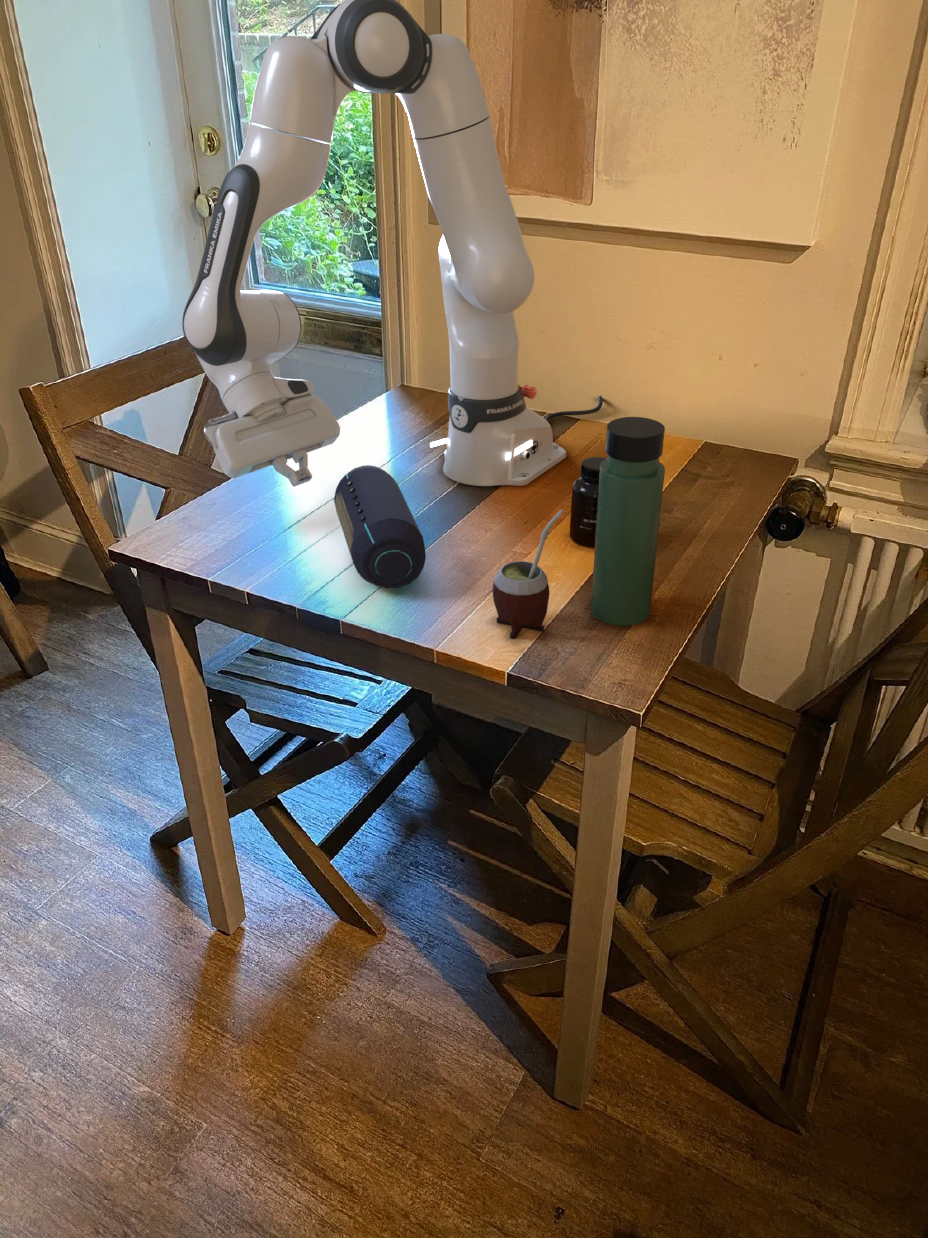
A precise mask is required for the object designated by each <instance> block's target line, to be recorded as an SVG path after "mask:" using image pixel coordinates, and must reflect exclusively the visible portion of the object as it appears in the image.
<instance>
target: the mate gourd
mask: <svg viewBox="0 0 928 1238" xmlns="http://www.w3.org/2000/svg"><path fill="white" fill-rule="evenodd" d="M564 512H565V511H564V509H563V508H562V509H560V510H559V511H558V512H556V514H555V515H554V516H553V517H552V518H551V519H550V521H549V522H548V523H547V524H546V526H545V527H544V529H543V530H542V532H541V534H540V540H539V544H538V547H537V550H536V552H535V556H534V560H533V562H532V561H525V560H519V561H512V562H508V563H506V564H505V565H502V567H500V568H499V570H498V572H496V574H495V576H494V578H493V583H492V588H491V589H492V590H491V591H492V600H493V603H494V607H495V610H496V613H497V617H496V619H495V620H496V624H500V625H505V626H510V627H511V632H510V633H509V638H510V639H513V640H515V639H517V638H518V637H519V634H520V633H521V631H522V630H523V629H526V630H529V631H530V630H531V631H536V632H544V630H545V624H544V621H545V618H546V616H547V613H548V607H549V601H550V600H549V599H550V586H549V581H548V575H547V574H546V573H545V571H544V570H543V569H542V568H541V567H540V566H539V561H540V558H541V555H542V551H543V549H544V546H545V542H546V540H547V539H548V537H549V534H550V530H551V529H552V527H553V526H554V524H555V523H556V522H557V520H558V519H559V518H560V517H561V515H562V514H563V513H564Z"/></svg>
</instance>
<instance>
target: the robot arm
mask: <svg viewBox="0 0 928 1238" xmlns="http://www.w3.org/2000/svg"><path fill="white" fill-rule="evenodd" d="M260 65H261V66H260V69H259V72H258V76H257V78H256V79H257V80H256V83H255V88H254V92H253V98H252V102H251V109H250V115H249V122H248V128H247V133H246V137H245V141H244V144H243V148H242V149H241V152H240V155H239V157H238V159H237V161H236V163H235V165H234V166H233V168H231V169H230V170H229V171H228V173H227V174H226V175H225V176H224V179H223V181H222V183H221V186H220V189H219V192H218V195H217V198H216V202H215V205H214V209H213V212H212V217H211V221H210V225H209V228H208V233H207V236H206V240H205V245H204V249H203V253H202V257H201V262H200V266H199V270H198V274H197V277H196V280H195V283H194V286H193V288H192V291H191V292H190V295H189V297H188V299H187V302H186V304H185V308H184V310H183V314H182V323H181V325H182V332H183V336H184V339H185V341H186V343H187V345H188V346H189V348H190V349H191V350H192V352H193V353H194V354H195V356H196V358H197V360H198V362H199V363H200V364H199V365H200V366H201V368H202V369H203V371H204V372H205V374H206V377H207V378H208V379H209V380H210V382H212V384H214V385H215V386H216V388H217V390H218V393H219V396H220V399H221V401H222V404H223V406H224V407H225V408H226V410H227V412H228V413H227V414H223V415H221V416H218V417H213V418H210V419H208V420H207V423H205V425H204V427H203V435H204V437H205V438H206V440H207V442H208V443H209V445H211V447H212V448H213V451H214V453H215V456H216V458H217V461H218V463H219V465H220V467H221V469H222V471H223V473H224V475H226V476H227V477H229V478H231V479H237V478H239V477H242V476H245V475H248V474H251V473H254V472H256V471H257V472H258V471H259V470H262V469H264V468H267V467H271V466H272V467H273V468H274V470H275V472H277V473H278V474H280V475H282V476H283V477H284V478H286V479H288V481H289V482H290V484H291V486H292V487H297V486H300V485H302V484H305V483H308V482H310V481H311V480H312V479H313V475H312V473H311V471H310V469H309V468H308V467H309V459H308V458H309V455H308V453H310V452H313V451H316V450H319V449H322V448H324V447H328V446H330V445H332V444H334V443H335V442H336V440H337V439H339V436H340V433H341V426H340V423H339V422H338V420H337V418H336V417H335V416H334V413H333V412H332V411H331V409H330V408H329V406H328V405H327V404H326V402H325V401H324V400H323V399H322V398H321V397H320V396H318V395H315V394H313V393H314V391H315V390H314V389H315V388H314V385H313V384H312V383H311V381H309V380H307V379H294V378H293V379H292V378H282V377H276V376H275V375H274V373H273V371H272V369H271V366H272V365H273V364H274V363H276V362H278V361H280V360H281V359H283V358H285V357H286V356H287V355H288V354H291V352H293V350H295V348H297V345H298V344H299V342H300V340H301V336H302V330H303V326H302V325H303V323H302V317H301V313H300V312H299V309H298V307H297V305H296V303H295V302H294V301H293V299H292V298H291V297H290V296H289V295H288V294H286V293H285V292H283V291H279V290H272V289H271V290H270V289H251V290H242V287H243V283H244V279H245V277H246V271H247V267H248V264H249V259H250V258H251V257H250V256H251V252H252V248H253V244H254V242H255V239H256V236H257V234H258V232H260V230H261V228H262V227H263V226H264V225H265V224H266V223H267V222H268V221H269V220H271V219H272V218H273V217H275V216H277V215H278V214H280V213H282V212H284V211H286V210H288V209H291V208H293V207H296V206H298V205H300V204H302V203H304V202H305V201H307V200H309V199H310V198H312V197H313V196H314V195H315V194H316V193H317V192H318V190H319V189H320V188H321V186H322V184H323V182H324V179H325V176H326V173H327V170H328V166H329V160H330V155H331V150H332V149H331V148H332V142H333V134H334V129H335V121H336V117H337V115H338V112H339V109H340V106H341V104H342V102H343V100H344V99H345V98H346V97H347V96H348V95H349V94H351V93H352V92H359V93H364V94H382V95H383V94H387V95H388V94H395V95H396V96H397V97H398V98H399V100H400V101H401V103H402V105H403V107H404V110H405V112H406V113H407V117H408V121H409V126H410V130H411V135H412V138H413V143H414V147H415V149H416V154H417V157H418V162H419V165H420V169H421V173H422V176H423V181H424V185H425V189H426V192H427V197H428V199H429V201H430V203H431V206H432V209H433V211H434V214H435V216H436V220H437V222H438V225H439V227H440V230H441V233H442V236H441V238H440V240H439V243H438V244H439V245H438V261H439V268H440V276H441V277H440V278H441V288H442V297H443V298H442V299H443V306H444V313H445V318H446V326H447V332H448V346H449V374H450V375H449V376H450V377H449V378H450V386H449V388H448V390H447V391H448V392H447V407H448V408H447V409H448V413H449V418H448V429H447V437H446V438H445V437H444V438H441V439H439V440H435V441H431V442H430V443H429V447H430V448H434V447H438V446H441V445H444V444H445V445H446V449H445V450H444V453H443V455H444V456H443V457H444V462H443V467H442V473H443V474H444V475H445V477H447V478H448V479H450V480H451V481H454V482H457V483H460V484H463V485H469V486H475V487H476V486H478V487H494V486H516V487H523V486H527V485H528V484H530V483H531V482H533V481H534V480H536V479H537V478H538V477H540V476H541V475H543V474H544V473H545V472H547V471H549V470H550V469H551V468H554V467H555V466H556V465H557V464H559V463H560V462H562V461H563V460H565V459H566V458H567V451H566V450H565V448H563V447H562V446H561V445H559V444H558V443H555V442H554V437H553V429H552V426H551V424H550V423H549V421H550V420H551V419H553V418H557V417H564V416H565V417H567V416H583V415H586V416H587V415H592V414H595V413H597V412H599V411H600V410H601V409H602V407H603V396H602V395H601V396H602V397H601V396H599V397H598V396H597V406H596V407H594V408H590V409H585V410H584V409H583V410H565V411H564V410H563V411H556V412H553V413H550V414H548V415H546V416H545V418H544V417H543V416H541V415H540V414H538V413H537V412H535V411H534V410H533V409H531V408H530V407H529V406H527V403H526V401H525V398H527V399H529V400H534V399H535V398H536V395H538V393H537V392H538V391H537V390H538V389H537V388H536V387H535V386H531V385H529V384H525V385H523V386H520V384H519V381H520V379H519V377H520V376H519V375H520V339H519V334H518V330H517V327H516V320H515V314H514V311H516V310H517V309H519V308H520V307H521V306H522V305H524V304H525V303H526V301H527V300H528V299H529V297H530V295H531V293H532V291H533V288H534V284H535V270H534V266H533V263H532V260H531V258H530V256H529V253H528V250H527V247H526V243H525V240H524V237H523V233H522V230H521V226H520V223H519V219H518V217H517V214H516V211H515V207H514V205H513V203H512V200H511V197H510V194H509V192H508V189H507V185H506V182H505V178H504V176H503V172H502V168H501V163H500V158H499V153H498V149H497V145H496V144H497V143H496V140H495V135H494V131H493V127H492V122H491V121H492V120H491V118H490V112H489V108H488V103H487V100H486V96H485V93H484V89H483V85H482V83H481V79H480V77H479V74H478V71H477V68H476V65H475V62H474V60H473V58H472V55H471V53H470V50H469V48H468V46H467V45H466V44H465V42H464V41H463V40H462V39H461V38H459V37H457V36H455V35H451V34H448V33H436V34H435V33H434V34H430V35H429V34H427V33H426V32H425V30H424V29H423V28H422V27H421V25H420V24H418V22H417V21H416V20H415V18H414V17H413V16H412V15H411V13H410V12H409V11H408V10H407V9H406V7H404V6H403V5H402V4H401V3H399V1H397V0H343V1H342V2H341V3H339V4H337V5H336V6H335V7H334V8H333V9H331V11H330V12H329V13H328V14H327V16H326V18H324V20H323V21H322V23H321V24H320V25H319V27H318V29H317V30H316V31H315V32H314V33H313V35H312V36H311V37H310V38H307V37H303V36H297V35H291V36H282V37H280V38H277V39H275V40H274V41H272V42H271V43H270V44H269V45H268V46H267V48H266V51H265V52H264V56H263V60H262V63H261V64H260ZM290 459H292V460H293V461H294V463H295V464H298V469H297V470H295V469H293V468H292V467H291V466H289V465H288V464H287V463H288V460H290Z"/></svg>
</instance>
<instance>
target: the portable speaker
mask: <svg viewBox="0 0 928 1238" xmlns="http://www.w3.org/2000/svg"><path fill="white" fill-rule="evenodd" d="M333 502H334V507H335V511H336V516H337V517H338V521H339V524H340V527H341V530H342V533H343V537H344V540H345V542H346V545H347V549H348V551H349V556H350V557H351V558H350V559H351V561H352V564H353V566H354V568H355V570H356V572H357V574H358V575H359V576H360V577H361V578H362V579H363V580H364V581H366V582H367V583H369V584H372V585H374V586H376V587H379V588H383V589H400V588H403V587H406V586H408V585H410V584H412V583H413V582H415V581H416V580H417V579H418V578H419V577H420V575H421V574H422V571H423V569H424V568H425V564H426V557H427V554H426V546H425V545H426V544H425V540H424V536H423V534H422V532H421V530H420V528H419V526H418V524H417V521H416V520H415V517H414V516H413V513H412V512H411V509H410V507H409V505H408V503H407V500H406V498H405V496H404V495H403V493H402V489H401V488H400V486H399V484H398V482H397V480H395V478H394V477H393V476H392V475H391V474H390V473H388V472H387V470H384V469H383V468H381V467H379V466H376V465H369V464H368V465H367V464H366V465H361V466H357V467H354V468H352V470H349V471H348V472H347V473H346V474H345V475H344V476H343V477H342V478H341V479H340V480H339V482H338V484H337V486H336V488H335V492H334V497H333Z"/></svg>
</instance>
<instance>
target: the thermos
mask: <svg viewBox="0 0 928 1238" xmlns="http://www.w3.org/2000/svg"><path fill="white" fill-rule="evenodd" d="M665 431H666V428H665V425H664V424H663V423H662V422H660V421H659V420H656V419H652V418H648V417H642V416H625V417H619V418H615V419H613V420H611V421H609V422H607V425H606V436H605V449H604V450H605V453H606V455H607V457H606V458H607V459H606V460H604V461H603V462H602V463H601V465H600V475H599V490H598V505H597V521H596V536H595V548H594V550H593V551H594V552H593V555H594V556H593V566H592V567H593V568H592V571H593V572H592V584H591V600H590V612H591V613H592V615H593V616H594V617H595V618H596V619H597V620H599V621H601V622H603V623H606V624H609V625H612V626H621V627H622V626H623V627H625V626H627V627H629V626H634V625H638V624H640V623H643V622H645V621H646V620H647V619H648V618H649V616H650V614H651V605H652V596H653V587H654V578H655V569H656V560H657V559H656V558H657V549H658V540H659V530H660V520H661V512H662V511H661V510H662V502H663V501H662V500H663V493H664V484H665V483H664V482H665V473H666V468H665V465H664V464H663V463H662V462H661V461H660V457H662V455H663V450H664V443H665V441H664V440H665Z"/></svg>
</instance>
